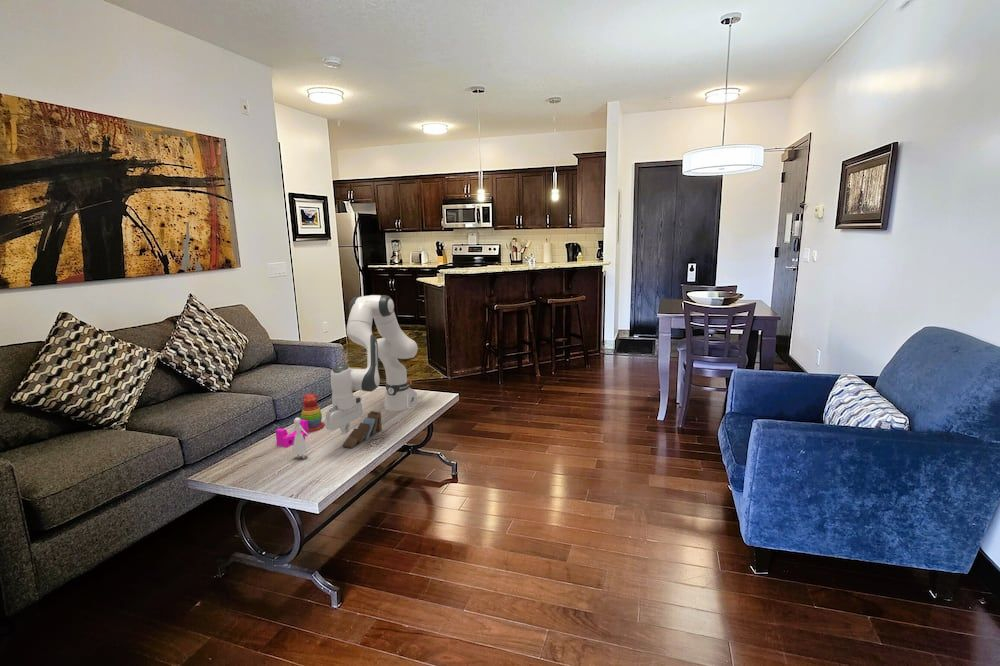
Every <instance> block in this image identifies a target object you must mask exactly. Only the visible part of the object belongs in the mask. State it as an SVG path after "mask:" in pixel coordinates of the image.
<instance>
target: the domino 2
mask: <svg viewBox="0 0 1000 666" xmlns="http://www.w3.org/2000/svg"><path fill="white" fill-rule="evenodd" d="M362 423H365V424H370V426H371V427H370V429H369V430H368V432H367V434H366V436H365V437H364V439H363V440H368V439H369V438H370V436H371V435H370V433H371V430H372V428H373V425H374V423H375V419H373V418H367V417H364V419H363V422H362Z"/></svg>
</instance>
